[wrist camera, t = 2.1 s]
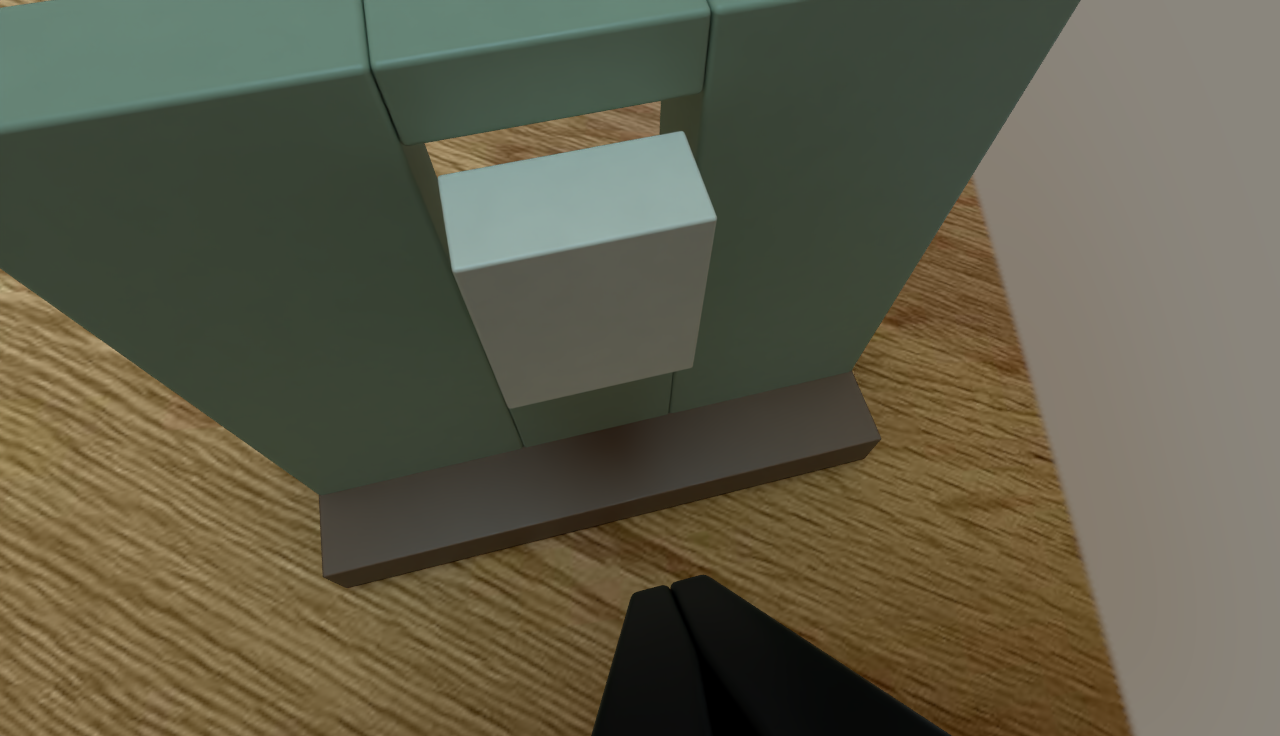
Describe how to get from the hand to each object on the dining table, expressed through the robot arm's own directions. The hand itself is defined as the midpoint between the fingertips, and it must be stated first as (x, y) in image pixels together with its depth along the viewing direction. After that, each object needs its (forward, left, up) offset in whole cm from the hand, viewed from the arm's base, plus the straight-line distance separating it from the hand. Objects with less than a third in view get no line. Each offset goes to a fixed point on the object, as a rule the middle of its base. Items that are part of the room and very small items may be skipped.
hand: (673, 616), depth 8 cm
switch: (+4, -3, -3) cm, 5 cm away
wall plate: (+7, -4, -10) cm, 13 cm away
